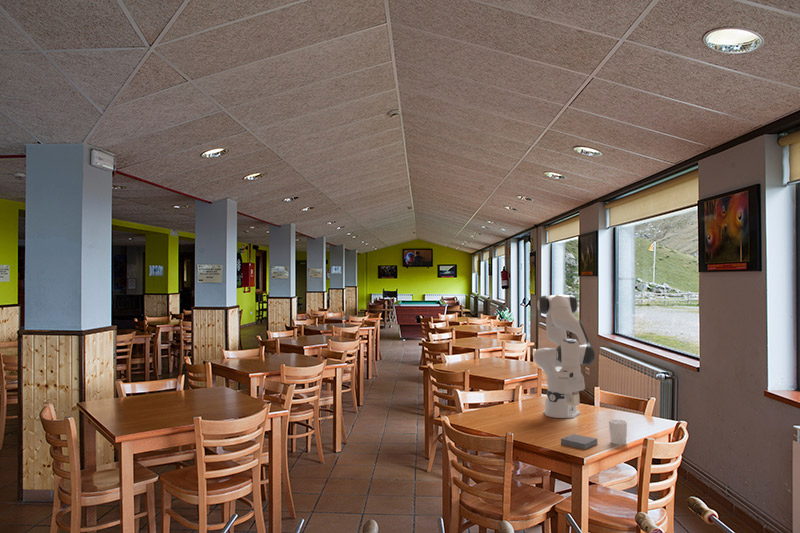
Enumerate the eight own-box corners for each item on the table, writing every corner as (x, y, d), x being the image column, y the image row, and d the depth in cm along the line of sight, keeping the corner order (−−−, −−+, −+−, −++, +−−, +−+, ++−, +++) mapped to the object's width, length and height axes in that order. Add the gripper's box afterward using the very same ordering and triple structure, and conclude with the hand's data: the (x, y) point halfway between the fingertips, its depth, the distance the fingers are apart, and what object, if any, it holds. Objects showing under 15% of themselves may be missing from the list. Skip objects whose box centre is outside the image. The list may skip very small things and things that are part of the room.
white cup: (622, 440, 248) (622, 419, 248) (630, 445, 240) (629, 423, 241) (606, 440, 248) (606, 419, 248) (614, 445, 240) (613, 423, 240)
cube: (570, 403, 253) (569, 393, 253) (579, 404, 249) (579, 394, 250) (564, 404, 250) (564, 394, 250) (574, 406, 246) (574, 395, 246)
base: (573, 439, 251) (573, 433, 251) (597, 444, 242) (597, 438, 242) (561, 444, 243) (560, 438, 243) (585, 449, 234) (584, 444, 234)
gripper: (575, 370, 260) (576, 397, 259) (554, 373, 246) (555, 403, 245) (587, 371, 255) (588, 399, 254) (566, 375, 242) (567, 404, 240)
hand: (572, 401), depth 250 cm, fingers closed on cube, 5 cm apart
